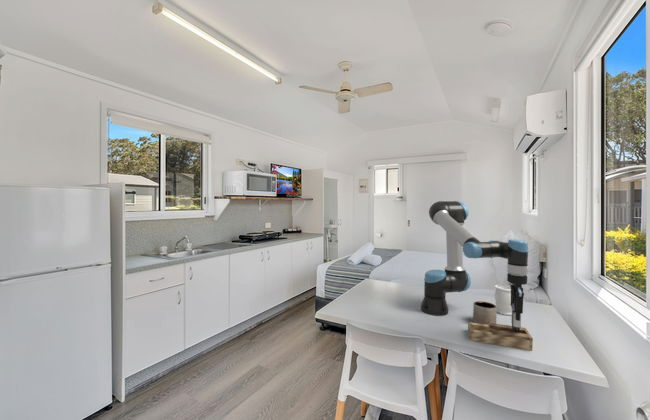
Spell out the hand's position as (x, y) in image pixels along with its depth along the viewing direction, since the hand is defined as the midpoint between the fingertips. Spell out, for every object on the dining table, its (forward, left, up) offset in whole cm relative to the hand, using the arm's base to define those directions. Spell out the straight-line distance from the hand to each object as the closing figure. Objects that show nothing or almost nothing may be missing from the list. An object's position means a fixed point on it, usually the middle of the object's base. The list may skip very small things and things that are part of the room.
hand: (515, 325), depth 129 cm
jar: (+3, +40, -8) cm, 41 cm away
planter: (-10, +20, -8) cm, 23 cm away
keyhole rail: (-7, 0, -8) cm, 11 cm away
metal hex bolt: (0, 0, -7) cm, 7 cm away
